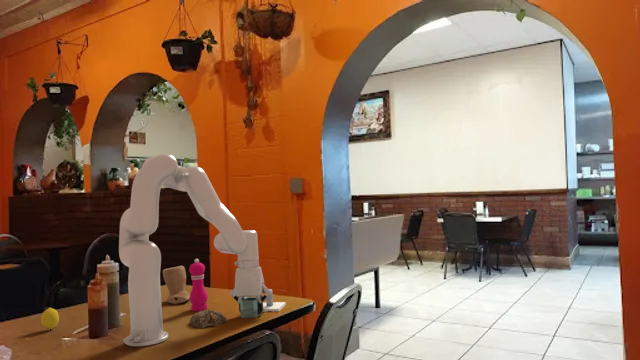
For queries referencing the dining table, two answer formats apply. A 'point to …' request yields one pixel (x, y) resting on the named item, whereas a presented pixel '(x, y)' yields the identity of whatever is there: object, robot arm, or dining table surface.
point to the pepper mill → (198, 287)
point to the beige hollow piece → (176, 284)
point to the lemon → (49, 318)
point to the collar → (249, 307)
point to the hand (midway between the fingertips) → (251, 313)
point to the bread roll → (207, 319)
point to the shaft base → (275, 306)
